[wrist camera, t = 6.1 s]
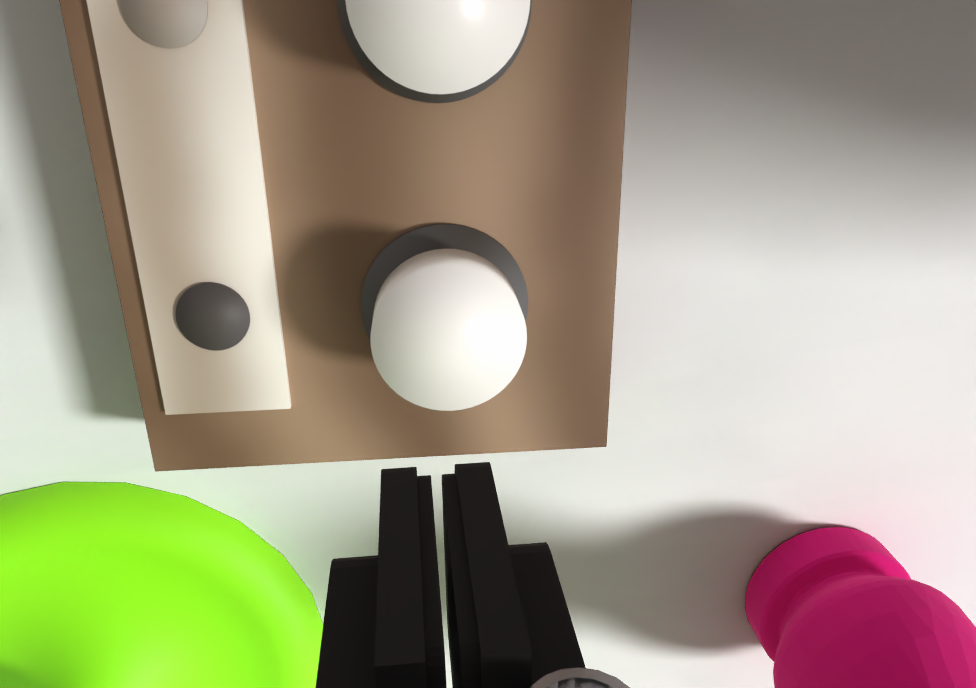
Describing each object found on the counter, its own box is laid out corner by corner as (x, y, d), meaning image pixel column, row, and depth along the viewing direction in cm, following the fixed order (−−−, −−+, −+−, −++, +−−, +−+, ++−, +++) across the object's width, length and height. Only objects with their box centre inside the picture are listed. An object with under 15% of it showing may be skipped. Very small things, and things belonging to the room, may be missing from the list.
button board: (631, -622, 17) (678, -764, 14) (586, 404, 27) (608, 451, 24) (-15, -661, 16) (-116, -824, 13) (182, 424, 26) (151, 476, 23)
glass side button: (519, 245, 20) (527, 262, 19) (518, 381, 22) (526, 407, 20) (368, 251, 20) (364, 268, 18) (378, 388, 21) (375, 414, 20)
